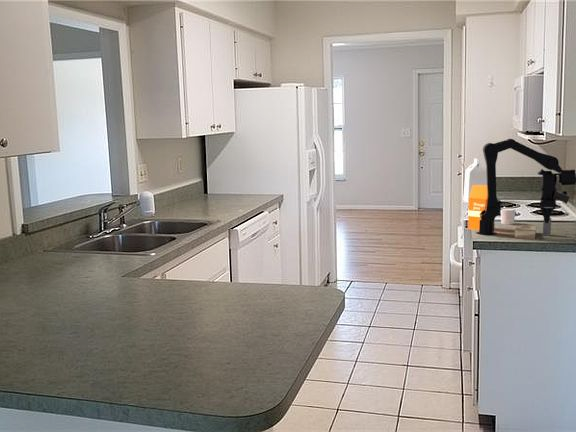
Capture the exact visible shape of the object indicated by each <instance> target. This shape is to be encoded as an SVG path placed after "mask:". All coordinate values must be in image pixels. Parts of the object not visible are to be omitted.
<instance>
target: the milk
mask: <svg viewBox="0 0 576 432" xmlns="http://www.w3.org/2000/svg"><path fill="white" fill-rule="evenodd" d="M473 185H483V186H487V172H486V168H484V167H483V166H482V165H481V164H480V159H479V158H473V163H472V164H470V165H469V166H468V167H467V168H466V169H465V172H464V187H463V196H462V197H463V198H462V201H463V202H465V203H467V204H469V196H470V193H471V190H472V186H473Z"/></svg>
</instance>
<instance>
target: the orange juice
mask: <svg viewBox="0 0 576 432" xmlns="http://www.w3.org/2000/svg"><path fill="white" fill-rule="evenodd" d="M486 198H487V186H483V185H473V186H472V190H471V193H470V196H469V203H468V210H467V211H468V212H467V213H468V218H467V219H468V220H467V229H468V230H474V231H475V230H477V231H479V224H480V219H481V218H480V215H479V214H480V213H481V212H482V211H483V210H484V209H485V203H486Z"/></svg>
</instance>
